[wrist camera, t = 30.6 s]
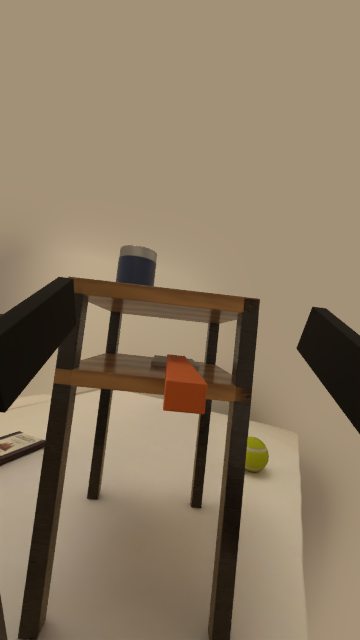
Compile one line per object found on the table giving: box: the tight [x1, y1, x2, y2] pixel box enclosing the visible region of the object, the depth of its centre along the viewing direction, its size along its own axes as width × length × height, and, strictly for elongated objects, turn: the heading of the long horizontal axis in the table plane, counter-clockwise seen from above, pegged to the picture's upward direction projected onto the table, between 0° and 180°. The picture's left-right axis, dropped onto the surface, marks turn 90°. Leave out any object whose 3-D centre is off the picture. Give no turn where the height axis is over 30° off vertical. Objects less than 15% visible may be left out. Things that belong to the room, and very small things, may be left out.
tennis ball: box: [245, 437, 269, 472], centre depth 55 cm, size 7×7×7 cm
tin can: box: [116, 245, 157, 286], centre depth 39 cm, size 6×6×8 cm
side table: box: [18, 277, 260, 640], centre depth 33 cm, size 20×18×31 cm
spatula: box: [151, 355, 207, 414], centre depth 27 cm, size 27×6×2 cm, turn 3°
